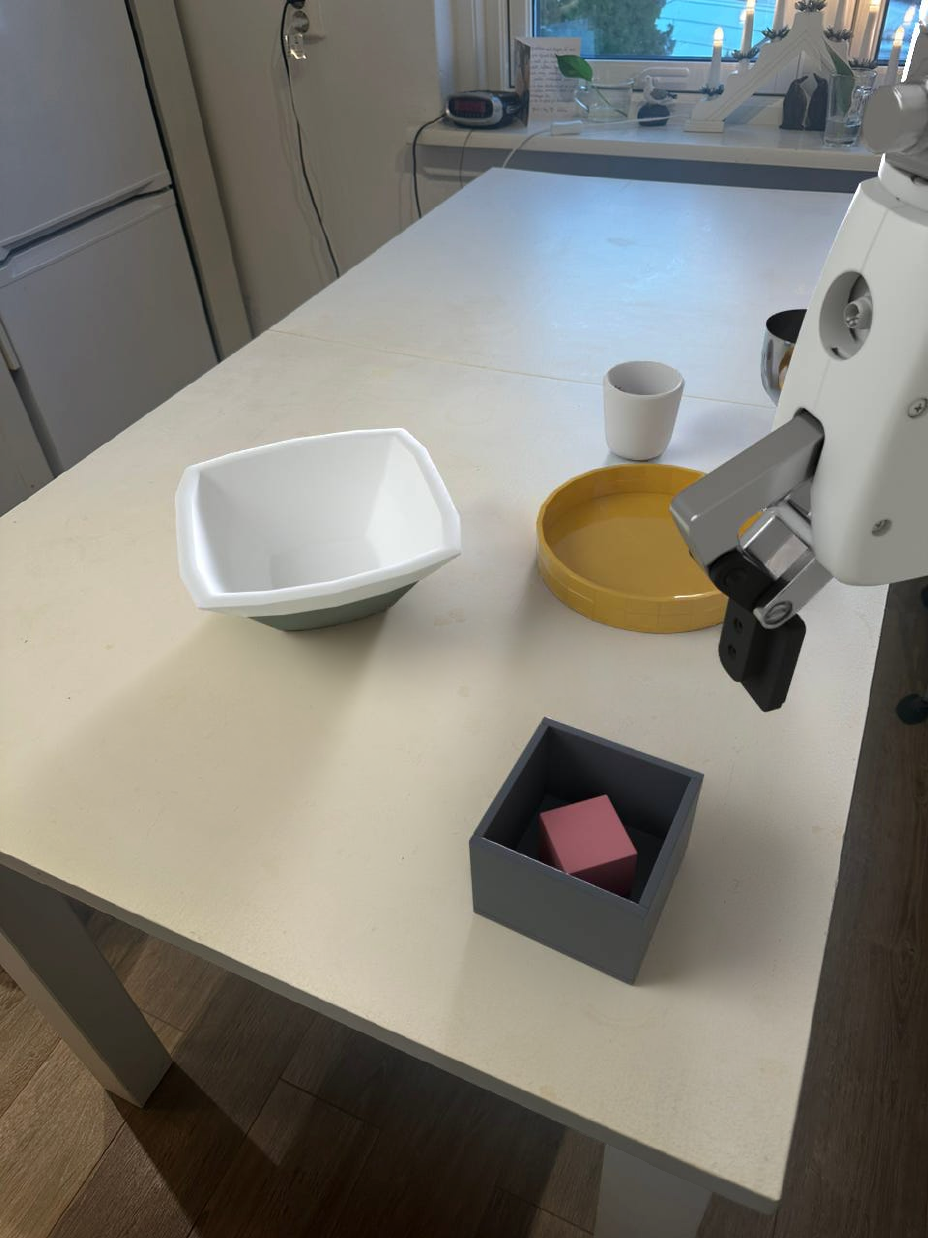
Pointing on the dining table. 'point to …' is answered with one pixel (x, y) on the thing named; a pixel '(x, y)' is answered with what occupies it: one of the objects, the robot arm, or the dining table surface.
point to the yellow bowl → (626, 550)
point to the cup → (641, 407)
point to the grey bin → (557, 902)
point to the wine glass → (779, 349)
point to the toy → (589, 844)
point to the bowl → (313, 528)
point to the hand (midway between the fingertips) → (869, 650)
